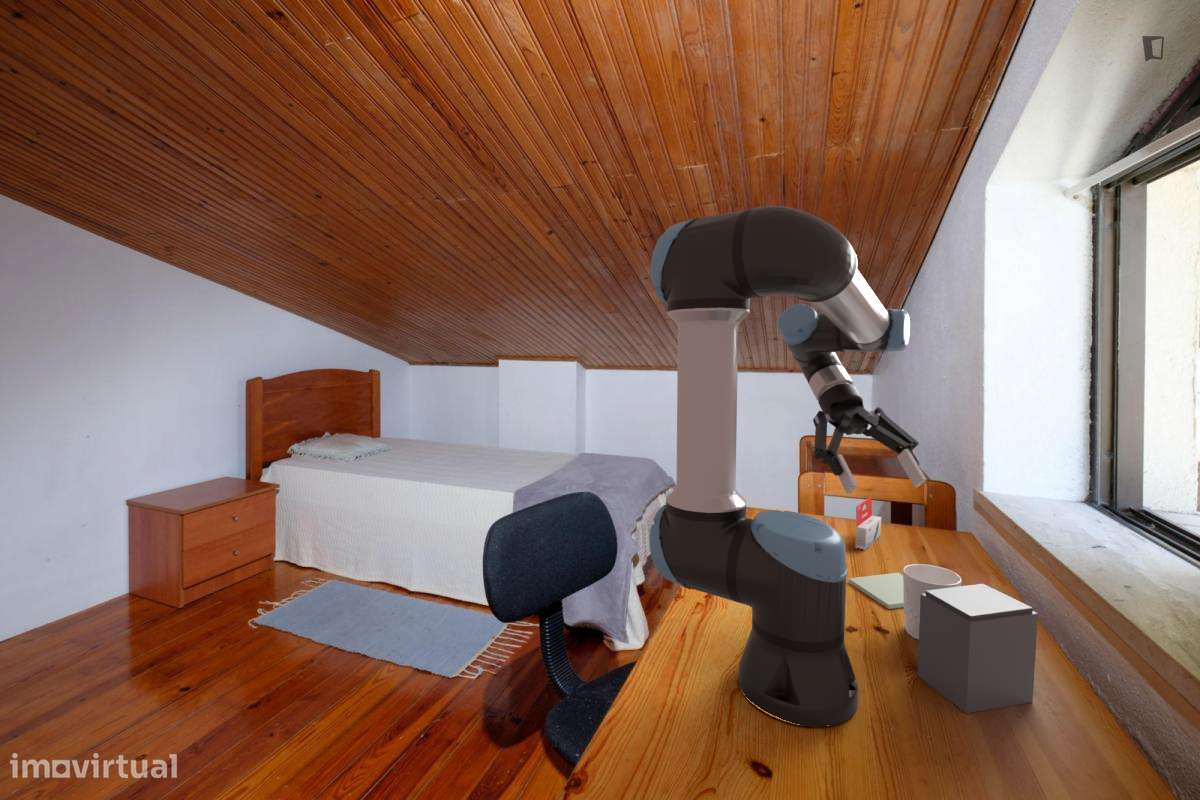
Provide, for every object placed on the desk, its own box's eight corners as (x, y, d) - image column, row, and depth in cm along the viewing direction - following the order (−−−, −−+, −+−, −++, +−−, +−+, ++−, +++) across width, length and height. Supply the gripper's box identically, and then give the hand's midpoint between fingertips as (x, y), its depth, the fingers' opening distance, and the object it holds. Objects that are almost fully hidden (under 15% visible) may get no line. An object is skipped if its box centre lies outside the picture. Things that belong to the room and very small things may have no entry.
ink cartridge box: (881, 537, 129) (882, 497, 128) (866, 551, 121) (867, 508, 120) (869, 535, 130) (871, 495, 129) (854, 548, 122) (855, 506, 121)
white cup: (909, 616, 92) (911, 560, 91) (964, 633, 86) (967, 573, 85) (894, 634, 86) (896, 574, 85) (951, 654, 81) (954, 589, 80)
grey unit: (966, 713, 68) (970, 618, 66) (917, 675, 76) (920, 589, 74) (1036, 701, 70) (1042, 608, 68) (981, 665, 78) (986, 581, 76)
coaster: (888, 609, 94) (888, 604, 94) (848, 582, 105) (848, 578, 105) (943, 602, 96) (943, 597, 96) (898, 576, 107) (898, 572, 107)
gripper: (881, 402, 113) (935, 491, 100) (771, 408, 109) (813, 503, 96) (900, 378, 107) (961, 469, 94) (785, 384, 103) (832, 481, 90)
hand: (887, 486), depth 95 cm, fingers open, 13 cm apart
